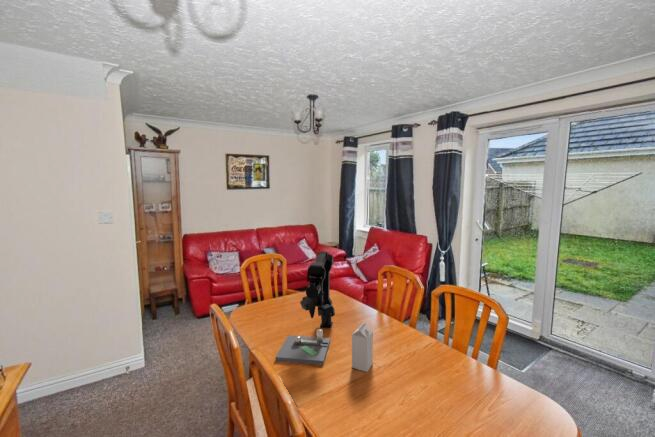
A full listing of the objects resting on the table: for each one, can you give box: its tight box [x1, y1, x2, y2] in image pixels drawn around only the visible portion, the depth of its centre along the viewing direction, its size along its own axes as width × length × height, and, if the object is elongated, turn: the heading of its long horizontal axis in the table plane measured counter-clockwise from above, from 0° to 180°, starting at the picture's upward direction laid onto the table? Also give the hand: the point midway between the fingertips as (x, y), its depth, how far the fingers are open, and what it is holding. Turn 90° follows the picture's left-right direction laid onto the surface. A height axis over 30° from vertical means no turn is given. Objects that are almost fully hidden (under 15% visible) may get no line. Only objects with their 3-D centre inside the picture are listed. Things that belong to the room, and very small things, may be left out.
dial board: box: [274, 335, 331, 366], centre depth 144 cm, size 20×22×2 cm
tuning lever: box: [293, 328, 328, 345], centre depth 146 cm, size 17×4×7 cm, turn 81°
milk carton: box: [351, 321, 374, 373], centre depth 130 cm, size 7×7×19 cm
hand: (317, 321), depth 146 cm, fingers open, 9 cm apart
